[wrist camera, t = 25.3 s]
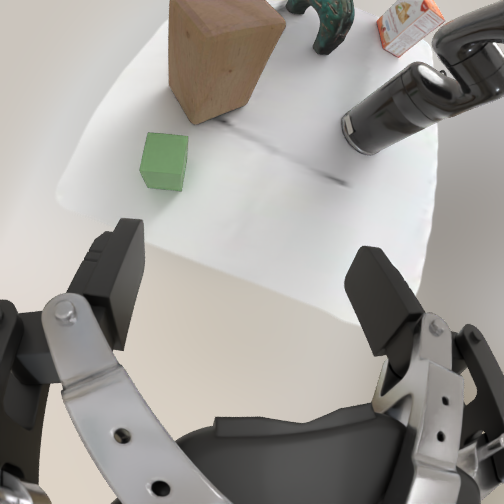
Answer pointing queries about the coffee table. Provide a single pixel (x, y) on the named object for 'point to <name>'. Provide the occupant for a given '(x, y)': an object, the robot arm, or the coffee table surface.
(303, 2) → the ceramic cat
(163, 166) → the green block
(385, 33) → the cracker box
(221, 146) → the coffee table surface
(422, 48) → the coffee table surface
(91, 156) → the coffee table surface
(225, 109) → the wooden block
